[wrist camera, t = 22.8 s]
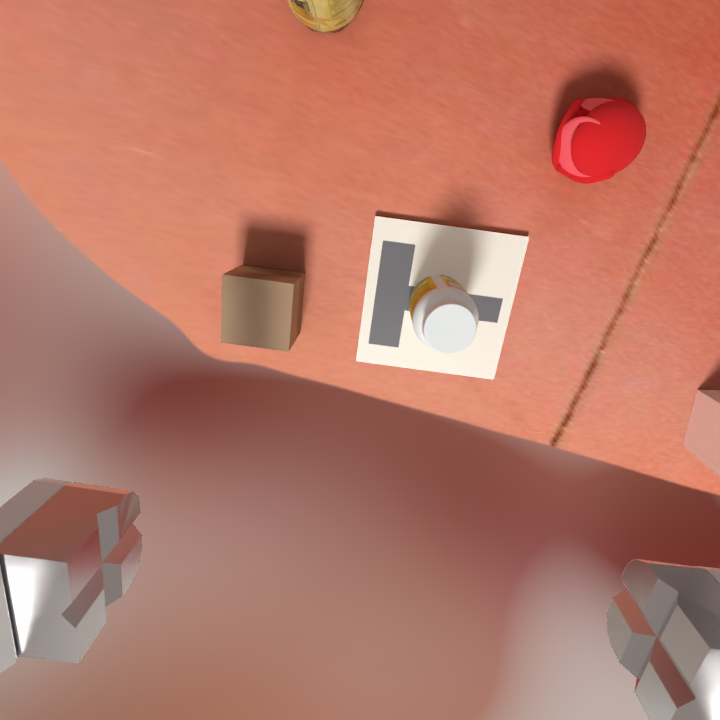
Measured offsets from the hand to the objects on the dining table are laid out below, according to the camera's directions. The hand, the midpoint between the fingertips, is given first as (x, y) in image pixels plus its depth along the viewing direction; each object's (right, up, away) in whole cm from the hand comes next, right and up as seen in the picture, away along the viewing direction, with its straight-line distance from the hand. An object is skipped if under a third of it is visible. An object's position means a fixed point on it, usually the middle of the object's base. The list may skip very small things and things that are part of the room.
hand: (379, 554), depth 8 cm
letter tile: (+7, +9, +36) cm, 38 cm away
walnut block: (-9, +9, +37) cm, 39 cm away
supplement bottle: (+7, +9, +36) cm, 37 cm away
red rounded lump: (+19, +22, +31) cm, 42 cm away
